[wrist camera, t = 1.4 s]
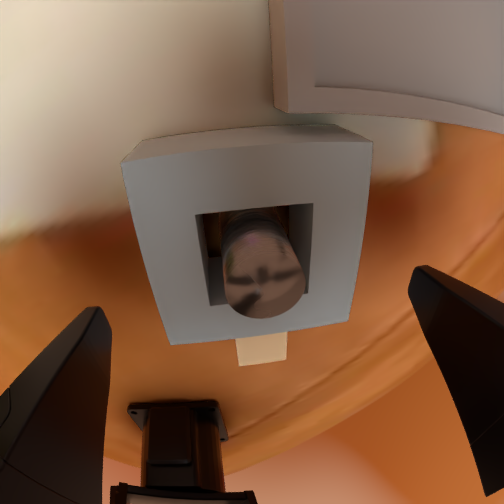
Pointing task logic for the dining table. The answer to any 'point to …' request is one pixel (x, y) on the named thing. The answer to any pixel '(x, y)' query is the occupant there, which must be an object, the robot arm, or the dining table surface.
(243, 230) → the brown rounded cylinder
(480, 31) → the tray
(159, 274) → the ring
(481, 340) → the robot arm
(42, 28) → the dining table surface
